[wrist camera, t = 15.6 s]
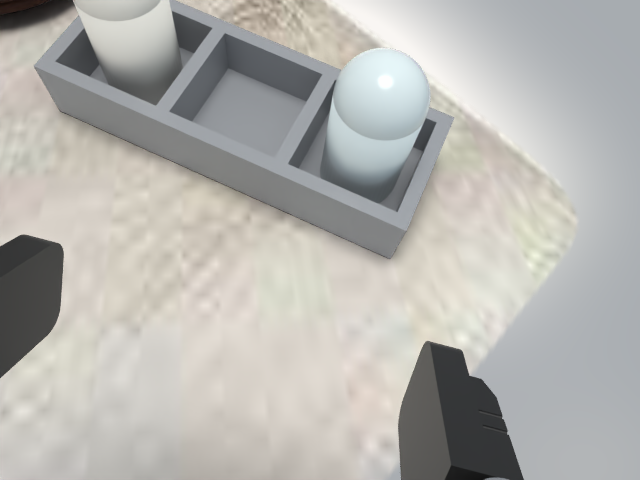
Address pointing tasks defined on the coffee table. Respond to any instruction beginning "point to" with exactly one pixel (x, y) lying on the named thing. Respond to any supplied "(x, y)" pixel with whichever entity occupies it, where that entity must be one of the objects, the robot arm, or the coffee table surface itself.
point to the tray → (244, 123)
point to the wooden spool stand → (18, 5)
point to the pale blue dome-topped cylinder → (374, 122)
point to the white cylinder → (134, 44)
